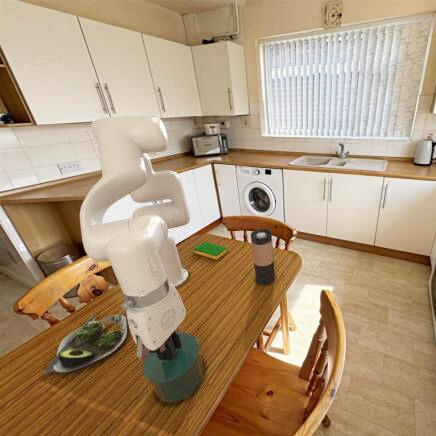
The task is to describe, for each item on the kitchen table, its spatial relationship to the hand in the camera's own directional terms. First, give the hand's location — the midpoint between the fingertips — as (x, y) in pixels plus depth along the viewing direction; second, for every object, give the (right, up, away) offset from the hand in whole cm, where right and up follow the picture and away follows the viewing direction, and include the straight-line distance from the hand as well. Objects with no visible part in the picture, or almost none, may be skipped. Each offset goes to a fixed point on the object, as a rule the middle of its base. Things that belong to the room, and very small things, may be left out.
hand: (170, 352), depth 55 cm
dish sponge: (-10, +15, +56) cm, 59 cm away
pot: (0, -9, +4) cm, 10 cm away
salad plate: (-29, -6, +14) cm, 33 cm away
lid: (0, -1, +1) cm, 2 cm away
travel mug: (+18, +7, +38) cm, 43 cm away
